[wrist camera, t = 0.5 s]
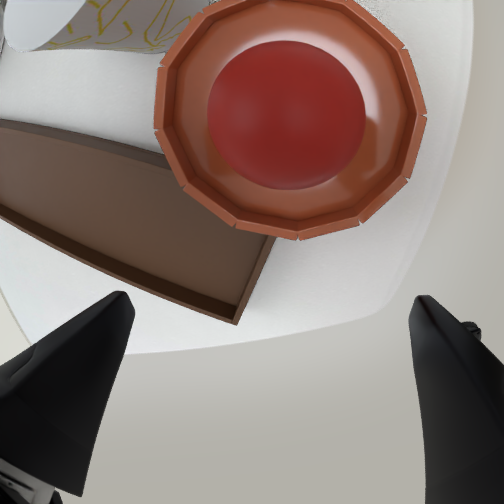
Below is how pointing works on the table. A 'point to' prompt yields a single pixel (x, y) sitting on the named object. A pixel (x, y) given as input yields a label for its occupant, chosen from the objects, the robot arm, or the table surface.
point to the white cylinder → (97, 24)
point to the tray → (126, 218)
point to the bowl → (335, 43)
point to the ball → (286, 115)
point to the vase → (1, 27)
